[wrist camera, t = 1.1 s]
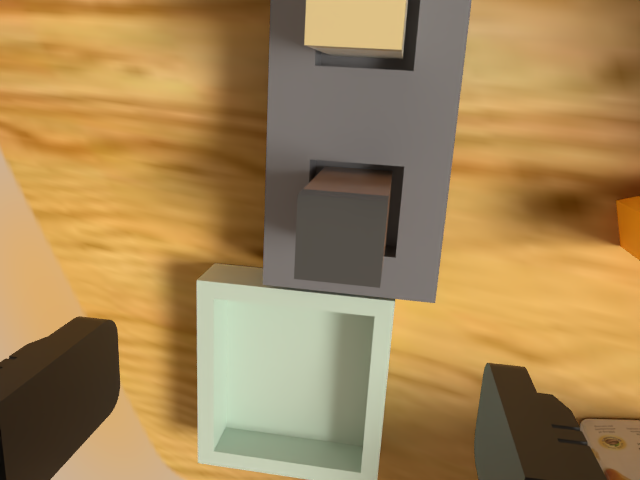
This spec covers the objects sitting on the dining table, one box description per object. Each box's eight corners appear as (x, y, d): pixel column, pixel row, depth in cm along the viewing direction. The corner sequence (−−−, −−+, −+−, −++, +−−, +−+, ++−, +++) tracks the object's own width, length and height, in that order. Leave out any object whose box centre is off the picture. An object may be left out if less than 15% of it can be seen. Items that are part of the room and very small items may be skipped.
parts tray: (214, 263, 34) (196, 280, 31) (395, 281, 32) (395, 301, 29) (214, 432, 37) (197, 462, 34) (378, 456, 36) (376, 489, 33)
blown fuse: (326, 165, 29) (297, 194, 22) (392, 170, 29) (387, 202, 21) (322, 230, 30) (293, 279, 23) (386, 235, 30) (380, 287, 22)
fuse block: (291, -74, 28) (273, -99, 24) (472, -71, 27) (482, -96, 23) (279, 261, 33) (262, 284, 29) (431, 277, 32) (434, 302, 28)
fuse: (336, -21, 27) (308, -63, 19) (410, -19, 26) (411, -61, 19) (332, 56, 28) (304, 45, 20) (403, 59, 27) (401, 49, 20)
